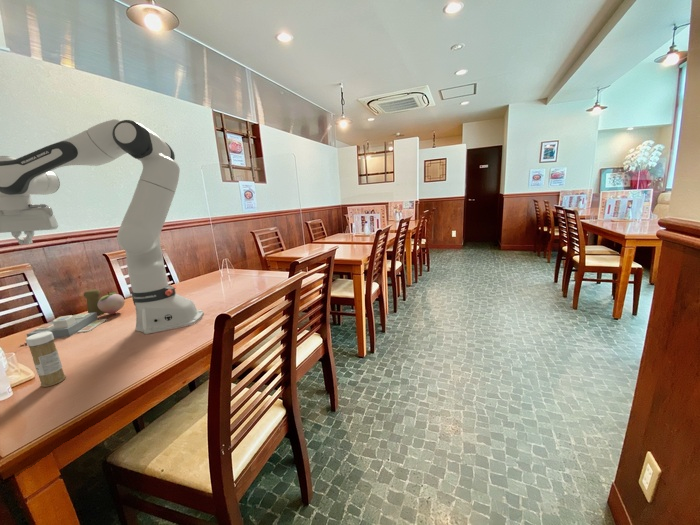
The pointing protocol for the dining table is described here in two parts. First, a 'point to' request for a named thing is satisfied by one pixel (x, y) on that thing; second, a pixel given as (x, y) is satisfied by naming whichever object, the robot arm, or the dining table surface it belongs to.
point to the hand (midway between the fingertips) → (26, 244)
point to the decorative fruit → (111, 303)
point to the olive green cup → (93, 301)
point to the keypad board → (69, 330)
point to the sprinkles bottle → (46, 358)
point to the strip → (91, 326)
